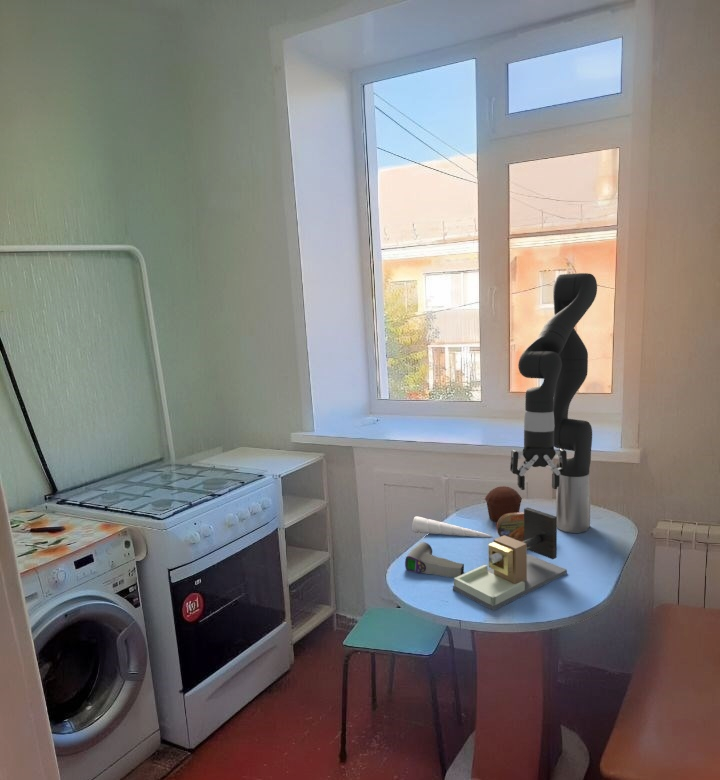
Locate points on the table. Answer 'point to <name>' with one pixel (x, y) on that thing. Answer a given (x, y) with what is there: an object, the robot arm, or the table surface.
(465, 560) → the table surface
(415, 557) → the infrared thermometer
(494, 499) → the muffin
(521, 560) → the shaft rig
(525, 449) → the robot arm
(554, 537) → the shaft
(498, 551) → the spacer
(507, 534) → the tin
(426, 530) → the unicorn horn
